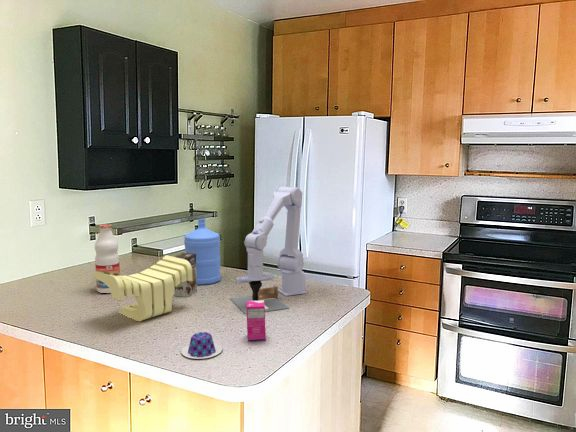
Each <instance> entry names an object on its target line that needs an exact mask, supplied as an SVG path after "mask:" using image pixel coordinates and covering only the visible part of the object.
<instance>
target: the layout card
mask: <svg viewBox="0 0 576 432" xmlns="http://www.w3.org/2000/svg"><path fill="white" fill-rule="evenodd" d="M263 300H264V304H265V313H266V312H267V313H269V312H274V311H275V312H276V311H283V310H289V309H290V307H289V306H288V305H286V304H285V303H284V302H282V301H281V300H280V299H279V298H278V299H277V298H267V299H263ZM230 301H231V302H232V303H233V304H234V305H235V306H236V307H237V308H238V309H239V310H240V311H241V312H242V313H243V314H244V315H245V316H247V306H246V304H247V301H253V299H252V295H247V296H240V297H233V298H230Z"/></svg>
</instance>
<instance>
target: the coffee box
mask: <svg viewBox="0 0 576 432" xmlns="http://www.w3.org/2000/svg"><path fill="white" fill-rule="evenodd" d="M175 257H176V258H180V259H184V260H187V261H188V262H189V263H190V264H191V267H192V278H193V281H187V280H186V281H184V282H180V284H179V285H177V287H175V286H174V293H173V296H175V297H183V298H189V297H191V296H192V295H193V294H195V293H196V292H197V291H198V285H197V275H196V254H195V253H187V252H186V253H185V252H182V253H180V254H178V255H176V256H175Z"/></svg>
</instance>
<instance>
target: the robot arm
mask: <svg viewBox="0 0 576 432" xmlns="http://www.w3.org/2000/svg"><path fill="white" fill-rule="evenodd" d="M272 195H273V196H272V197H273V199H272V201H271V204H270V205H269V208H268V210H267V212H266V214H265V216H261V217H260V218H259V219H258V222H257V223H256V225H255V226H254V228H253V230H252V232H250V233H248V234H247V235H246V236H245V240H244V241H243V243H244V246H245V248H246V253H247V275H244V276H239V277H236V278H235V284H237V285H240V284H247V283H248V285H249V286H250V288H251V291H252V295H251V296H252V299H253V301H258V292H259V289H262V288H261V287H262V286H263V283H262V282H267V281H275V275H274V274H264V249H265V247H266V246H267V243H268V236H269V234H270V232H271V230H272V229H273V228H274V225H275V224H274V220H275V219H276V217H277V216H278V214H279V213H280V211H281V210H282V208H286V210H287V212H286V214H287V216H286V227H285V237H284V239H285V240H284V248H282V249H281V250H280V251H279V256H278V259H277V263H276V264H277V268H278V269H280V271H279V272H281V289H279V288H278V292H279V293H281V294H282V295H283V296H286V297H287V296H294V295H295V296H296V295H302V294H307V291H306V287H307V286H306V279H307V278H306V273H305V272H304V271H303V268H304V266H305V265H304V264H305V263H304V262H305V261H304V254H303V252H301V250H300V249H299V248H298V247H299V237H300V224H301V213H302V212H301V211H302V205H303V204H302V203H303V191H302V190H301V189H300V187H296V186H295V187H293V186H281V185H279V186H277V187H276V188H275V190H274V192H273V193H272Z"/></svg>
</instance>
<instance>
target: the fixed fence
mask: <svg viewBox="0 0 576 432" xmlns="http://www.w3.org/2000/svg"><path fill="white" fill-rule="evenodd" d="M278 290H279V287H278V286H277V285H274V286H271V287H263V288H260V289H259V292H260V294H261V295H262V297H263V299H267V298H277V299H278V300H279V296H278V294H279V293H278V292H279V291H278Z"/></svg>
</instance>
